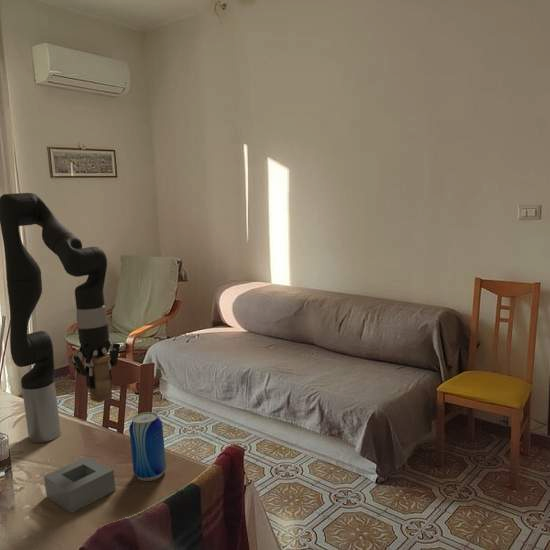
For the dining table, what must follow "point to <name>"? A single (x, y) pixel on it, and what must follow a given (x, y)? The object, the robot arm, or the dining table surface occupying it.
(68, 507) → the well block
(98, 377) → the tall wooden block
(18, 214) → the robot arm
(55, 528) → the dining table surface
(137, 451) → the beer can
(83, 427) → the dining table surface
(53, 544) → the dining table surface
